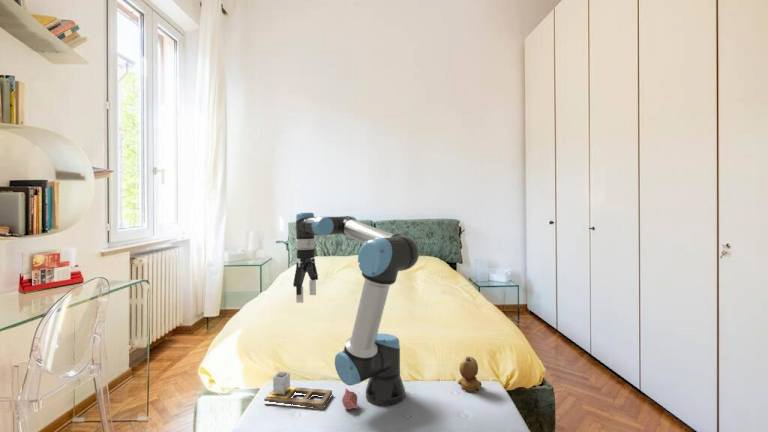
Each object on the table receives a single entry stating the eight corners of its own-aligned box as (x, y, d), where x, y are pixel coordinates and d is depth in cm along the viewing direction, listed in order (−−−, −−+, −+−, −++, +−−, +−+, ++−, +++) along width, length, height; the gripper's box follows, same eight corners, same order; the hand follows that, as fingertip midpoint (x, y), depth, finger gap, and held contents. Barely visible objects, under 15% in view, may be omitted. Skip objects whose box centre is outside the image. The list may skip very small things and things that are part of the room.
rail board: (332, 395, 136) (332, 389, 136) (322, 409, 126) (322, 402, 126) (277, 390, 140) (277, 384, 140) (264, 404, 131) (264, 397, 131)
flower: (335, 395, 125) (348, 385, 125) (340, 393, 132) (352, 384, 133) (347, 416, 122) (360, 406, 122) (351, 413, 129) (364, 404, 130)
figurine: (485, 386, 140) (482, 353, 137) (480, 399, 134) (476, 365, 131) (462, 381, 146) (458, 349, 143) (455, 392, 139) (451, 359, 136)
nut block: (290, 395, 136) (289, 371, 136) (284, 401, 132) (284, 376, 132) (279, 394, 137) (278, 370, 137) (273, 400, 133) (273, 376, 133)
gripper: (309, 246, 162) (309, 291, 162) (283, 251, 138) (284, 305, 138) (324, 246, 161) (325, 292, 161) (301, 251, 136) (302, 306, 136)
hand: (306, 298), depth 149 cm, fingers open, 13 cm apart
